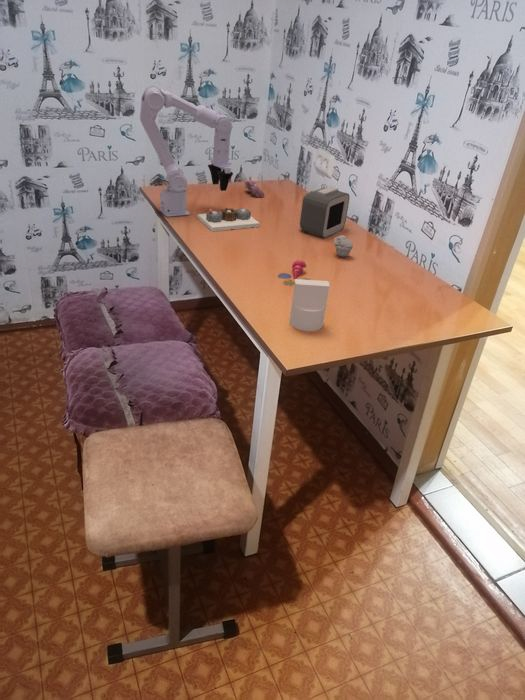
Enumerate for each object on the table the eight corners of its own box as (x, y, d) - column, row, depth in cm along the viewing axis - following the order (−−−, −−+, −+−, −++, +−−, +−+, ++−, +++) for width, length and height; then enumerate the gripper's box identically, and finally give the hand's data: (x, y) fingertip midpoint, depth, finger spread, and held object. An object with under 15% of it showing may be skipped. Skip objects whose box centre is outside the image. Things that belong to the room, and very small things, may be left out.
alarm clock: (321, 240, 205) (328, 197, 197) (295, 231, 211) (301, 189, 202) (344, 229, 217) (351, 189, 208) (319, 221, 222) (325, 181, 214)
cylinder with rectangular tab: (320, 315, 157) (327, 276, 150) (324, 332, 149) (331, 291, 143) (288, 313, 156) (293, 273, 150) (290, 330, 149) (296, 289, 142)
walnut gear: (224, 222, 207) (225, 214, 206) (218, 216, 212) (218, 208, 210) (239, 220, 210) (239, 212, 208) (232, 215, 214) (233, 207, 212)
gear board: (212, 231, 202) (212, 216, 199) (197, 218, 213) (197, 203, 210) (259, 226, 211) (260, 212, 208) (243, 214, 221) (244, 200, 218)
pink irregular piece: (247, 194, 247) (241, 180, 243) (255, 189, 248) (250, 175, 243) (256, 201, 240) (251, 187, 235) (265, 196, 241) (260, 182, 236)
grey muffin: (335, 250, 198) (339, 231, 194) (354, 256, 195) (357, 236, 192) (328, 255, 194) (331, 236, 190) (347, 261, 191) (350, 241, 187)
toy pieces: (274, 269, 180) (276, 257, 178) (309, 271, 182) (311, 259, 179) (278, 286, 170) (280, 273, 168) (315, 288, 172) (317, 275, 169)
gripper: (239, 155, 204) (236, 192, 211) (223, 145, 214) (221, 181, 221) (221, 155, 201) (219, 193, 208) (206, 145, 211) (204, 181, 218)
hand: (219, 187), depth 214 cm, fingers open, 7 cm apart
